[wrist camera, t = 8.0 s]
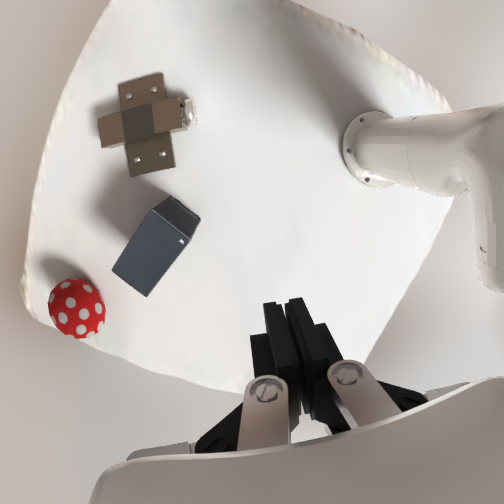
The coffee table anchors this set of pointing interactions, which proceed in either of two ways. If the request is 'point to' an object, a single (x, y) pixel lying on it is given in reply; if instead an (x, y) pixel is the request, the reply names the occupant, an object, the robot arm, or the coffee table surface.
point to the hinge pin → (189, 112)
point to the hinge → (144, 125)
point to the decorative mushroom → (77, 308)
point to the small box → (156, 245)
